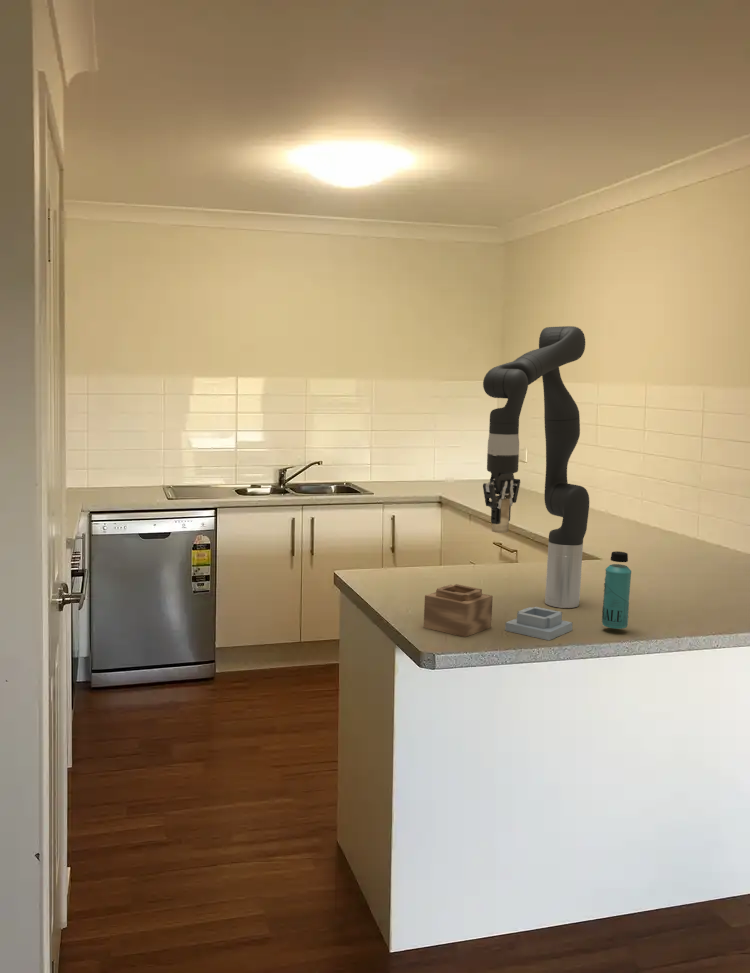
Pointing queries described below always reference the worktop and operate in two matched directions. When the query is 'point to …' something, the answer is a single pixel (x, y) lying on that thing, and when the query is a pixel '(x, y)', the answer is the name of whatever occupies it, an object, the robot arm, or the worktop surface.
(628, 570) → the beverage bottle
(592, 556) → the worktop surface
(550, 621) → the slate dock
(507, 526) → the birch peg
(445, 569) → the worktop surface
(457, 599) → the walnut dock
